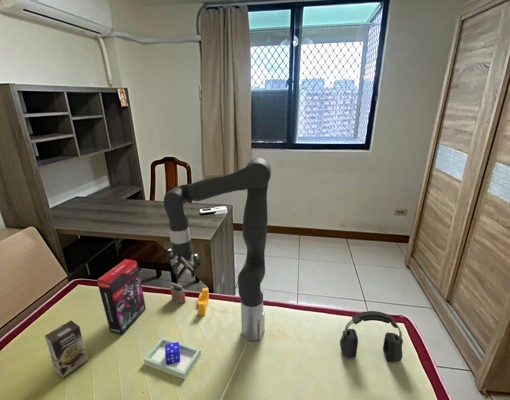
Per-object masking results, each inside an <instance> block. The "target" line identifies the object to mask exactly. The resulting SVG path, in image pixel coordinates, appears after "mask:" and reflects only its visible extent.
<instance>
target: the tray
mask: <svg viewBox="0 0 510 400" xmlns="http://www.w3.org/2000/svg"><path fill="white" fill-rule="evenodd" d="M175 342H177V341H176V340H173V339H170V338H166V337H164V336H162V337H161V338H160V339H159V341H158V342H157V343H156V344H155V345H154V346H153V347H152V348H151V350H150V351H149V352H148V353H147V354H146V355H145V356H144V358H143V363H144V365H146V366H148V367H151V368H153V369H156V370H159V371H162V372H164V373H165V374H166V373H167V374H170V375H172V376H175V377H177V378H180V379H183V380H186V378H187V377H188V376H189V374H190V372H191V371H192V369H193V368H194V366H195V364H196V363H197V362H198V360H199V358H200V357H201V355H202V350H201V349H200V348H197V347H195V346H192V345H189V344H185V343H181V342H179V347H180V362H177V363H173V364H169V365H166V358H165V345H166V344H171V343H175Z"/></svg>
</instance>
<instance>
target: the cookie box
mask: <svg viewBox="0 0 510 400" xmlns="http://www.w3.org/2000/svg"><path fill="white" fill-rule="evenodd" d="M81 332H82V331H81V328H80V325H78V324H77V323H76V322H74V321H73V320H69V321H67V322H65V323H64V324H62V325H61V326H59V327H57V328H56V329H54V330H52V331H50V332H49V333H47V334H45V335H44V338H45V341H46V344H47V348H48V351H49V355H50V358H51V362H52V365H53V369H54V370H55V371H56V372H57V373H58V375H59V376H60V377H62V378H64V377H65V376H67V375H68V374H69V373H71V372H72V371H75V369H77V368H78V367H79V366H81V365H82V364H84V363H85V362H87V361H88V355H87V350H86V347H85V344H84V343H85V342H84V339H83V336H82V335H83V334H82V333H81Z"/></svg>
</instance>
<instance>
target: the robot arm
mask: <svg viewBox="0 0 510 400" xmlns="http://www.w3.org/2000/svg"><path fill="white" fill-rule="evenodd" d="M271 169H272V168H271V166H270V163H269V162H268V161H267V160H266V159H264V158H262V157H255V158H252V159H251V160H249V162H247V164H246V166H244V167H243V168H241V169H239V170H237V171H234V172H232V173H229V174H224V175H219V176H212V177H211V176H210V177H207V178H203V179H201V180H197V181H195V182H192V183H187V184H181V185H177V186H175V187H173V188H171V189H170V190H169V191H167V192H166V193H165V195H163V196H164V197H163V207H164V211H165V213H166V216H167V218H168V224H169V225H168V226H169V238H170V248H168V249H167V250H165V254H166V255H165V256H166V264H170V266H171V269H172V273H173V274H177V273H178V272H179V268H178V267H179V266H178V263H183V264H185V265H186V266H187V267H188V268H189V269H190V277H191V278H193V279H194V278H195V277H196V275H197V273H198V272H197V270H198V269H199V268H200V267H201V258H200V253H199V252H197V253H193V252H192V246H193V245H192V238H191V237H192V236H191V230H190V224H189V223H190V221H189V216H188V214H187V212H185V210H184V205H185V204H186V203H190V202H193V201H194V202H201V201H205V200H209V199H211V198H214V197H218V196H220V195H224V194H228V193H232V192H233V193H234V192H236V191H243V190H246V191H247V192H246V194H247V195H246V201H245V206H244V210H243V211H244V212H243V216H242V238H243V241H244V244H245V246H246V259H245V263H244V265H243V267H242V268H241V270H240V272H239V273H238V277H237V285H238V286H237V289H238V290H237V291H238V295H239V298H240V317H241V320H240V321H241V334H242V338H244V339H246V341H249V342H250V341H251V342H255V341H261V340H262V338H263V335H264V333H265V331H266V330H265V328H266V327H265V326H266V324H265V323H266V321H265V320H266V319H265V316H266V315H265V312H264V294H263V293H264V292H263V291H262V290H261V283H262V282H263V279H265V278H264V277H265V276H266V275H265V274H266V263H265V261H266V260H265V252H266V251H265V249H266V244H267V243H266V242H267V233H268V197H267V196H268V195H267V194H268V187H269V182H270V179H271V176H272V170H271Z"/></svg>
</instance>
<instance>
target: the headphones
mask: <svg viewBox="0 0 510 400" xmlns="http://www.w3.org/2000/svg"><path fill="white" fill-rule="evenodd" d="M371 321H374V322H375V321H376V322H383V323H385V324H391V326H392V327H393V328H395V329H397V330H398V334H399V335H398V334H396V333H394V332H386V333H385V335H384V340H383V345H382V352H383V354H384V357H385V359H386V360H387V362H390V363H400V362H401V361H402V360H403V345H404V344H403V343H404V340H403V335H402V334H403V333H402V331H401V329H400V326H399V325H398V324H397V321H396V320H395V319H394V318H393V317H392V316H391V315H390V314H387V313H385V312H382V311H377V310H367V311H363V312H358V313H356V314H354V315H353V316H352V317H351V320H350V321H348V322H347V323H346V325H345V327H344V330H342V335H341V338H340V340H339V346H340V351H341V353H342V355H343V356H344V357H347V358H350V359H354V358H356V357H357V354H358V353H357V352H358V347H359V346H358V345H359V337H358V334H357V331H356V330H355V328H349V327H350V326H351V325H352V324H354V325H355V326H356V325H358V324H360V323H361V322H371Z"/></svg>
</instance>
